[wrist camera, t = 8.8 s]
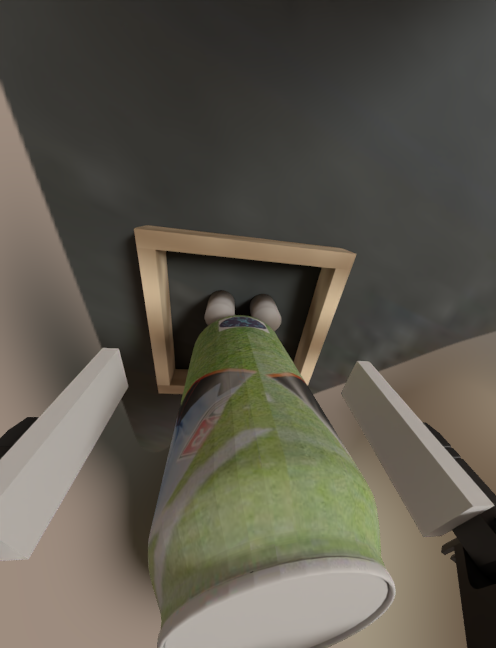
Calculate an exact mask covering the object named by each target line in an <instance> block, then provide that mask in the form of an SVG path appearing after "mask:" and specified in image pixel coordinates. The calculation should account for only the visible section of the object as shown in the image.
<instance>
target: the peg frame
mask: <svg viewBox="0 0 496 648" xmlns="http://www.w3.org/2000/svg"><path fill="white" fill-rule="evenodd" d="M134 233H135V239H136V246H137V253H138V259H139V266H140V273H141V279H142V286H143V293H144V299H145V306H146V313H147V319H148V326H149V333H150V339H151V346H152V353H153V359H154V366H155V373H156V379H157V386H158V392H159V393H165V394H183V391H184V387H185V382H186V378H187V374H188V369H176V368H175V356H174V344H173V332H172V320H171V308H170V296H169V284H168V271H167V259H166V251H174V252H183V253H193V254H202V255H212V256H221V257H231V258H240V259H249V260H259V261H268V262H278V263H287V264H297V265H306V266H316V267H322V268H321V272H320V275H319V279H318V282H317V285H316V289H315V292H314V295H313V299H312V302H311V305H310V309H309V312H308V315H307V319H306V322H305V326H304V329H303V332H302V336H301V339H300V342H299V346H298V349H297V352H296V356H295V359H294V362H293V363H294V365H295V366H296V368H297V370H298V371H299V373H300V374H301V376H302V378H303V379H304V381H305V383H306V384H307V386H308V383H309V381H310V378H311V375H312V373H313V370H314V367H315V365H316V362H317V359H318V357H319V354H320V351H321V348H322V346H323V343H324V340H325V338H326V335H327V332H328V330H329V327H330V324H331V321H332V319H333V316H334V313H335V311H336V308H337V305H338V303H339V300H340V297H341V295H342V292H343V289H344V286H345V284H346V281H347V278H348V276H349V273H350V270H351V268H352V265H353V262H354V260H355V257H356V254H355V253H353V252H350V251H347V250H345V249H342V248H336V247H327V246H319V245H310V244H302V243H294V242H285V241H277V240H268V239H260V238H251V237H243V236H234V235H226V234H218V233H209V232H201V231H192V230H184V229H175V228H167V227H158V226H150V225H146V226H142V227H137V228H134ZM250 312H251V317H254V318H257V319H259V320H261V321H263V322H264V323H266V324H267V325H268V326H270V327H271V329H272V330H273V331H275V330H277V329H278V327H279V326H280V324H281V316H280V314H279V311H278V309H277V307H276V304H275V302H274V300H273V298H272V297H271V296H269V295H266V294H260V295H257V296H255V297H254V298H253V299H252V300H251V302H250ZM234 315H235V301H234V298H233V296H232V295H231V294H230V293H229V292H226V291H222V290H220V291H216V292H214V293H213V294H212V295H211V296H210V298H209V301H208V305H207V309H206V313H205V321H206V323H207V325H208V326H209V325H210V324H212V323H213V322H215V321H217V320H219V319H222V318H224V317H228V316H234Z"/></svg>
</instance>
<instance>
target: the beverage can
mask: <svg viewBox="0 0 496 648" xmlns="http://www.w3.org/2000/svg"><path fill="white" fill-rule="evenodd" d="M148 565H149V573H150V578H151V581H152V585H153V589H154V592H155V596H156V599H157V602H158V606H159V609H160V613H161V620H162V623H161V631H160V633H159V636H158V642H157V648H327V647H330V646H332V645H334V644H336V643H338V642H340V641H343V640H345V639H347V638H348V637H350V636H352V635H354V634H355V633H357V632H359V631H361V630H362V629H364V628H365V627H367V626H369V625H370V624H371V623H373V622H374V621H375V620H377V619H378V618H379V617H380V616H381V615H382V614H383V613H384V612H385V611H386V610H387V609H388V607H389V606H390V605H391V604H392V602H393V600H394V597H395V594H396V592H395V585H394V582H393V579H392V577H391V575H390V574H389V572H388V571H387V570H386V568H385V566H384V563H383V561H382V558H381V549H380V531H379V521H378V514H377V508H376V503H375V500H374V497H373V494H372V492H371V490H370V488H369V486H368V484H367V483H366V481H365V479H364V477H363V476H362V474H361V473H360V471H359V469H358V468H357V466H356V464H355V463H354V461H353V459H352V458H351V456H350V454H349V453H348V451H347V450H346V448H345V446H344V445H343V443H342V441H341V440H340V438H339V437H338V435H337V433H336V432H335V430H334V428H333V427H332V425H331V424H330V422H329V420H328V419H327V417H326V415H325V414H324V412H323V410H322V409H321V407H320V405H319V404H318V402H317V401H316V399H315V397H314V396H313V394H312V392H311V391H310V389H309V388H308V386H307V384H306V383H305V381H304V379H303V378H302V376H301V374H300V373H299V371H298V370H297V368H296V366H295V365H294V363H293V361H292V360H291V358H290V356H289V355H288V353H287V352H286V350H285V348H284V347H283V345H282V343H281V342H280V340H279V339H278V337H277V335H276V334H275V332H274V331H273V330H272V329H271V327H270V326H268V325H267V324H266V323H264V322H263V321H261V320H259V319H257V318H254V317H250V316H244V315H234V316H228V317H224V318H222V319H219V320H217V321H215V322H213V323H212V324H210V325H209V326H208V327H206V328H205V329H204V330H203V331H202V333H201V334H200V335H199V337H198V339H197V340H196V342H195V345H194V349H193V353H192V357H191V361H190V365H189V370H188V374H187V378H186V382H185V387H184V391H183V395H182V399H181V404H180V408H179V412H178V416H177V421H176V425H175V429H174V433H173V438H172V442H171V446H170V450H169V455H168V459H167V463H166V468H165V472H164V476H163V481H162V485H161V489H160V493H159V498H158V502H157V506H156V510H155V514H154V519H153V523H152V527H151V532H150V536H149V543H148Z"/></svg>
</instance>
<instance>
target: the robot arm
mask: <svg viewBox="0 0 496 648" xmlns="http://www.w3.org/2000/svg"><path fill="white" fill-rule="evenodd" d="M127 388H128V383H127V379H126V375H125V371H124V367H123V363H122V359H121V355H120V351H119V349H117V348H102V349H101V350H100V351H99V352H98V354H97V355H96V356H95V357H94V358H93V359H92V360H91V361H90V362H89V363H88V365H87V366H86V367H85V368H84V369H83V370H82V371H81V372H80V373H79V374H78V375H77V376H76V378H75V379H74V380H73V381H72V382H71V383H70V384H69V385H68V386H67V387H66V388H65V390H64V391H63V392H62V393H61V394H60V395H59V396H58V397H57V398H56V399H55V400H54V402H53V403H52V404H51V405H50V406H49V407H48V408H47V409H46V410H45V411H44V413H43V414H42V415H41V416H40V417H27V418H26V419H24V420H23V421H21V422H20V423H18V424H17V425H15V426H14V427H13V428H11V429H9V430H8V431H7V432H6V433H5V434H4V435H3V436H2V437H1V438H0V561H6V560H23V559H29V557H30V556H31V553H32V552H33V551H34V549H35V547H36V545H37V544H38V542H39V540H40V538H41V537H42V535H43V533H44V532H45V530H46V528H47V526H48V525H49V523H50V521H51V519H52V518H53V516H54V514H55V513H56V511H57V509H58V507H59V506H60V504H61V502H62V500H63V499H64V497H65V495H66V493H67V492H68V490H69V488H70V487H71V485H72V483H73V481H74V480H75V478H76V476H77V475H78V473H79V471H80V469H81V468H82V466H83V464H84V462H85V460H86V459H87V457H88V455H89V454H90V452H91V450H92V449H93V447H94V445H95V443H96V441H97V440H98V438H99V437H100V435H101V433H102V431H103V430H104V428H105V426H106V424H107V423H108V421H109V419H110V417H111V416H112V414H113V412H114V410H115V409H116V407H117V405H118V404H119V402H120V400H121V399H122V397H123V395H124V393H125V392H126V390H127ZM341 394H342V396H343V398H344V399H345V401H346V403H347V405H348V406H349V408H350V410H351V411H352V413H353V415H354V417H355V419H356V420H357V422H358V424H359V426H360V428H361V429H362V431H363V433H364V435H365V436H366V438H367V440H368V441H369V443H370V445H371V447H372V448H373V450H374V452H375V454H376V455H377V457H378V459H379V461H380V462H381V464H382V466H383V468H384V469H385V471H386V473H387V474H388V476H389V478H390V480H391V482H392V483H393V485H394V487H395V489H396V490H397V492H398V494H399V495H400V497H401V499H402V501H403V503H404V504H405V506H406V508H407V510H408V511H409V513H410V515H411V517H412V518H413V520H414V522H415V523H416V525H417V527H418V529H419V530H420V532H421V534H422V536H423V537H433V536H442V535H444V534H446V533H448V532H449V531H451V530H452V531H453V532H454V534H455V535H456V536H457V538H455V539H453V540H451V541H450V542H448V543H446V544H444V545H443V546H442V551H441V552H442V553H443V554H444V555H446V554H448V553H450V552H452V551H455V554H454V555H452V556H451V558H450V559H451V560H453V561H454V562H455V563H456V565H457V573H458V581H459V588H460V596H461V603H462V611H463V618H464V626H465V633H466V641H467V648H496V495H495V494H494V493H493V492H492V491H491V490H490V488H489V487H488V486H487V485H486V484H485V483H484V482H483V481H482V480H481V479H480V478H479V476H478V475H477V474H476V473H475V472H474V471H473V470H472V469H471V467H469V466H468V464H467V463H466V462H465V461H464V460H463V459H461V458H460V455H459V454H458V453H457V452H456V451H455V450H454V449H453V448H451V446H450V444H449V443H448V442H447V441H446V440H445V439H444V438H443V437H442V435H441V434H440V433H439V432H437V431H436V430H435V429H433V428H432V427H431V426H430V425H428V424H427V423H422V422H421V421H420V419H419V418H418V417H417V416H416V415H415V414H414V412H412V410H411V409H410V408H409V407H408V405H407V404H406V403H405V402H404V401H403V400H402V399H401V397H399V395H398V394H397V393H396V392H395V391H394V389H393V388H392V387H391V386H390V385H389V384H388V383H387V381H386V380H385V379H384V378H383V377H382V376H381V374H380V373H379V372H378V371H377V370H376V369H375V368H374V366H373V365H372V364H371V363H370V362H368V361H357V362H356V364H355V366H354V368H353V370H352V372H351V374H350V376H349V378H348V380H347V382H346V384H345V386H344V388H343V390H342V392H341Z"/></svg>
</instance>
